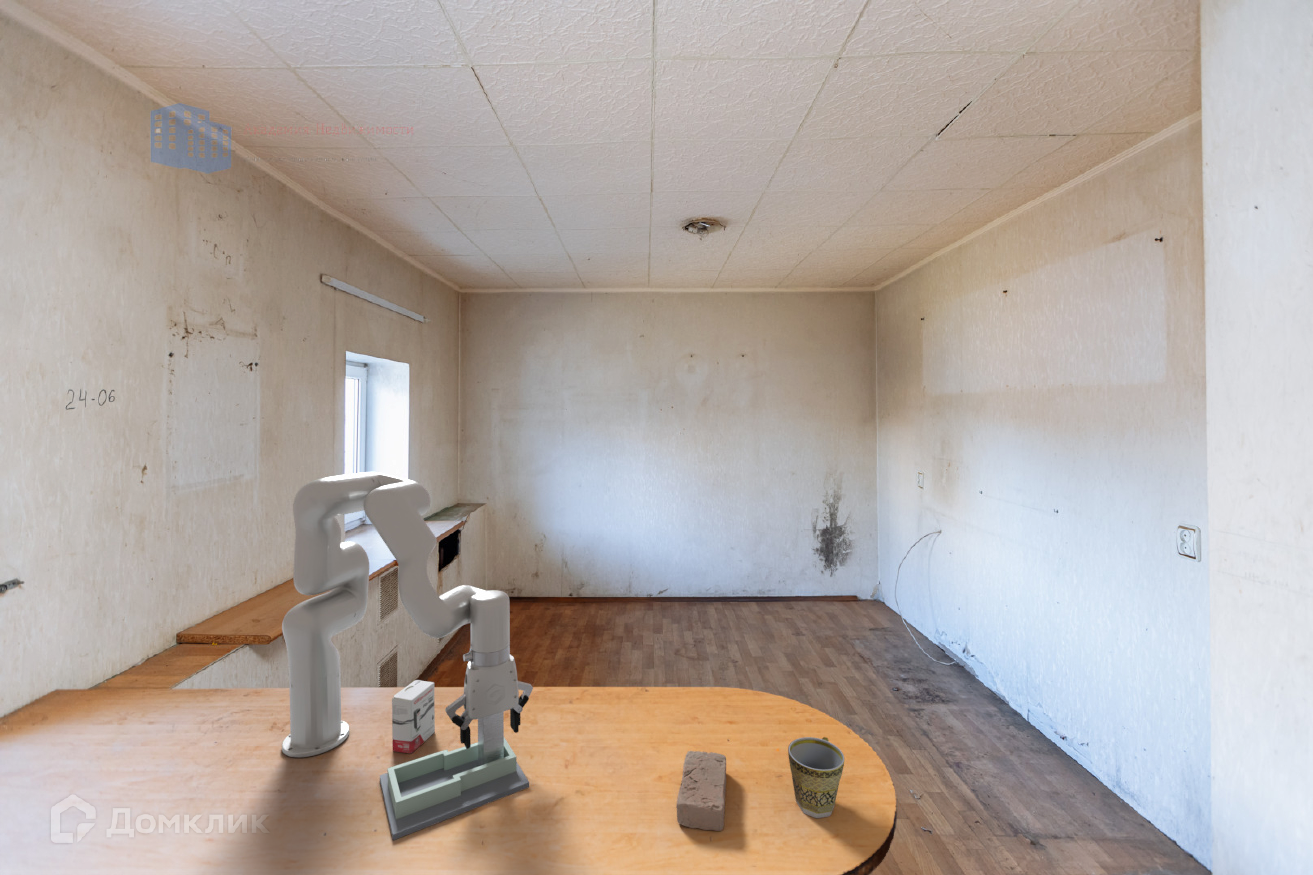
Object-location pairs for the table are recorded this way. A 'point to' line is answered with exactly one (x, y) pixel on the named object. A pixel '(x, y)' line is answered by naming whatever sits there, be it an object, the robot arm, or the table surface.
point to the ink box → (413, 716)
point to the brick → (702, 791)
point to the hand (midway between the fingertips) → (491, 736)
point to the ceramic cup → (815, 774)
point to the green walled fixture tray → (446, 787)
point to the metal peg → (490, 738)
